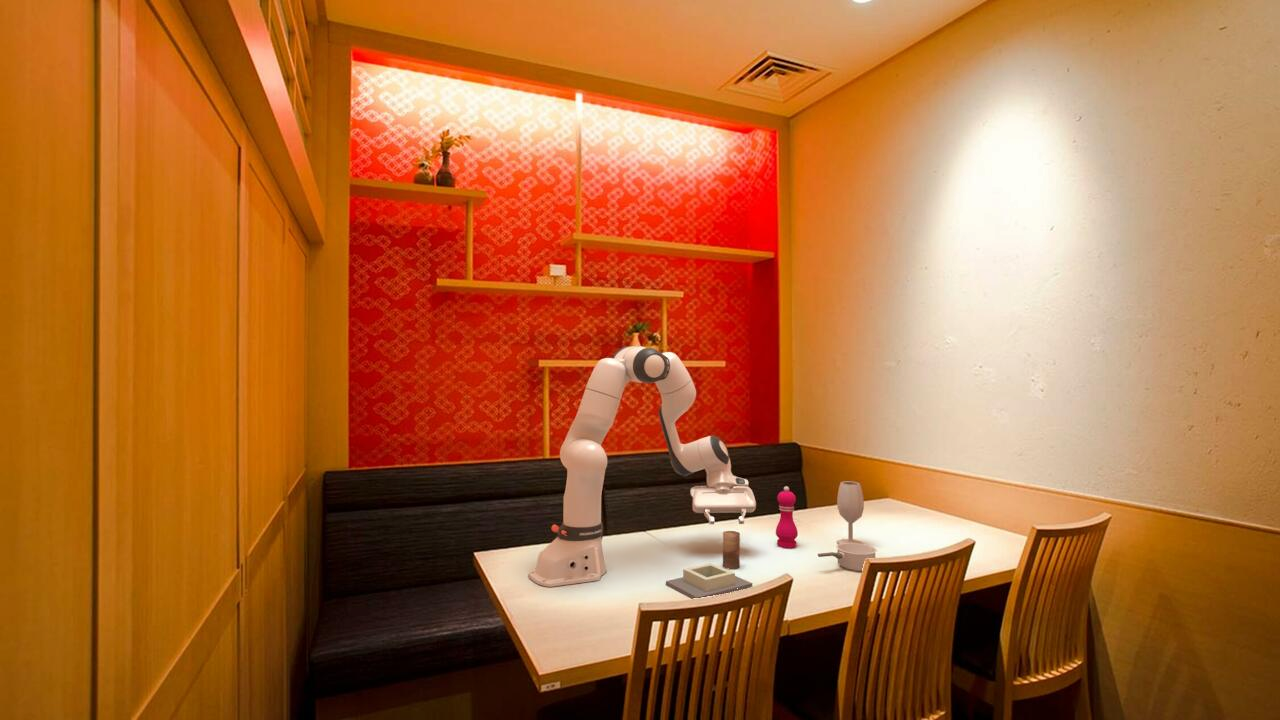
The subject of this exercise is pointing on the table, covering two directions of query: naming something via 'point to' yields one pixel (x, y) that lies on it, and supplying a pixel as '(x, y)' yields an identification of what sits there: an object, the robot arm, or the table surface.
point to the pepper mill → (786, 520)
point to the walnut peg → (731, 549)
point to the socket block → (707, 581)
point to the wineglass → (850, 507)
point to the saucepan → (852, 555)
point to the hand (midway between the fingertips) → (726, 523)
